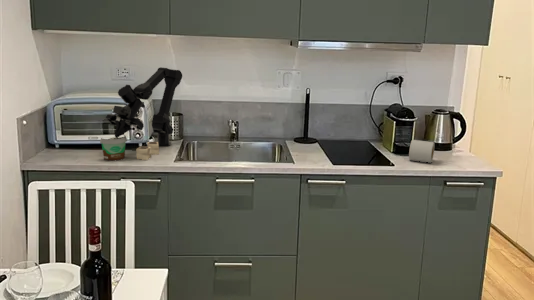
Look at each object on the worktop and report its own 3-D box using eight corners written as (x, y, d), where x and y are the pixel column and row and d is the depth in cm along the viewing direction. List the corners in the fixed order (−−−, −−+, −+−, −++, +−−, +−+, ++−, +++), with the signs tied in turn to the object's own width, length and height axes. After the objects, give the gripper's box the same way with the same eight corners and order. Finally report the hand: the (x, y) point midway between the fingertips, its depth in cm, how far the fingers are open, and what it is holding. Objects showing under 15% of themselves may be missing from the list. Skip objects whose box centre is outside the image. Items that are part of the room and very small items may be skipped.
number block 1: (141, 156, 243) (140, 145, 242) (151, 157, 242) (151, 146, 241) (136, 159, 238) (136, 148, 237) (147, 160, 237) (146, 149, 236)
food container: (106, 162, 231) (105, 140, 229) (100, 159, 236) (99, 138, 233) (132, 158, 239) (131, 137, 236) (126, 155, 243) (125, 134, 241)
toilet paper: (432, 160, 253) (435, 140, 251) (429, 165, 244) (432, 144, 242) (411, 157, 257) (413, 137, 255) (408, 162, 248) (410, 141, 246)
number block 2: (147, 152, 251) (147, 141, 250) (158, 151, 252) (158, 141, 251) (148, 155, 246) (147, 144, 245) (158, 154, 247) (158, 143, 246)
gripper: (107, 96, 239) (90, 124, 233) (138, 100, 231) (121, 129, 224) (120, 111, 248) (104, 138, 241) (151, 115, 240) (135, 143, 233)
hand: (115, 137), depth 235 cm, fingers closed
